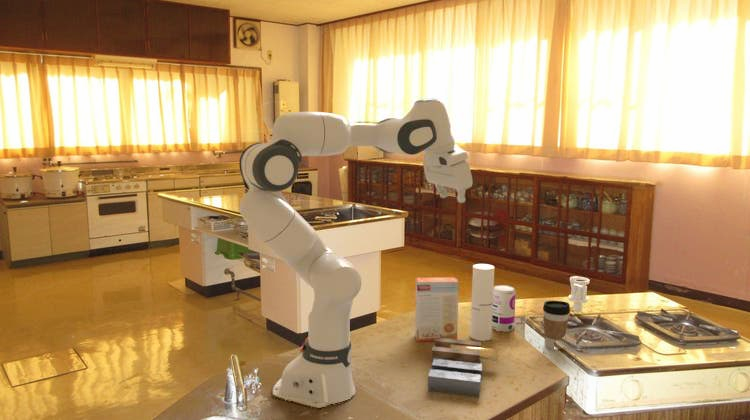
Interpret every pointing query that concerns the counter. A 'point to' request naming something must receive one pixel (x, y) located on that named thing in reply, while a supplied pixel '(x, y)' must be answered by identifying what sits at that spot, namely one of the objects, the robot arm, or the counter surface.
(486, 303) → the cylindrical container
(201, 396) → the counter surface
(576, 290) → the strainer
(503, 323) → the supplement can
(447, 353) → the walnut bearing block
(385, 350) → the counter surface
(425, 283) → the cracker box
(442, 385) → the iron V-block
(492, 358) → the brass axle
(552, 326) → the coffee cup
